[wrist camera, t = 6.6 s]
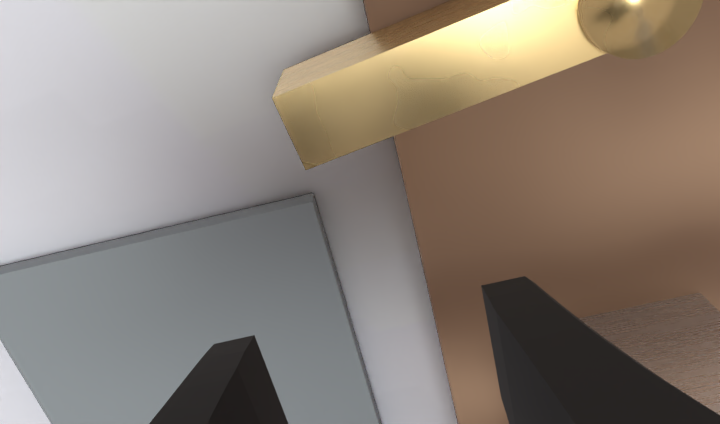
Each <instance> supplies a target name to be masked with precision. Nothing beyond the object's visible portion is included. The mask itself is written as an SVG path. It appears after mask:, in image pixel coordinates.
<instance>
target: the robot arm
mask: <svg viewBox="0 0 720 424" xmlns="http://www.w3.org/2000/svg"><path fill="white" fill-rule="evenodd" d="M481 288H482V294H483V299H484V305H485V310H486V316H487V321H488V327H489V333H490V338H491V344H492V349H493V355H494V360H495V366H496V372H497V377H498V383H499V388H500V394H501V398H502V402H503V405H504V408H505V411H506V415H507V418H508V421H509V424H720V415H719V414H717V413H716V412H714V411H712V410H711V409H709V408H708V407H706V406H705V405H703V404H701V403H700V402H698V401H697V400H695V399H693V398H692V397H690V396H689V395H687V394H686V393H684V392H682V391H681V390H679V389H678V388H676V387H675V386H673V385H671V384H670V383H668V382H667V381H665V380H664V379H662V378H661V377H659V376H658V375H656V374H655V373H653V372H652V371H650V370H649V369H647V368H646V367H645V366H643V365H642V364H640V363H639V362H637V361H636V360H635V359H633V358H632V357H630V356H629V355H628V354H626V353H625V352H623V351H622V350H621V349H619V348H618V347H616V346H615V345H614V344H612V343H611V342H609V341H608V340H607V339H605V338H604V337H602V336H601V335H600V334H598V333H597V332H596V331H594V330H593V329H592V328H590V327H589V326H588V325H587V324H585V323H584V322H583V321H581V320H580V319H579V318H578V317H576V316H575V315H574V314H572V313H571V312H570V311H569V310H567V309H566V308H565V307H564V306H562V305H561V304H560V303H559V302H557V301H556V300H555V299H554V298H552V297H551V296H550V295H549V294H548V293H546V292H545V291H544V290H543V289H542V288H540V287H539V286H538V285H537V284H536V283H534V282H533V281H532V280H530V279H528V278H527V277H525V276H523V277H518V278H514V279H509V280H504V281H500V282H495V283H491V284H486V285H481ZM149 424H288V421H287V419H286V416H285V413H284V411H283V408H282V406H281V403H280V400H279V398H278V395H277V393H276V390H275V387H274V385H273V382H272V380H271V377H270V374H269V372H268V369H267V367H266V364H265V361H264V359H263V356H262V354H261V351H260V348H259V346H258V343H257V341H256V338H255V335H253V336H248V337H243V338H239V339H234V340H230V341H225V342H221V343H216V344H213V346H212V347H211V348H210V349H209V350H208V351H207V352H206V353H205V355H204V356H203V357H202V358H201V359H200V361H199V362H198V363H197V364H196V365H195V367H194V368H193V369H192V370H191V372H190V373H189V374H188V375H187V377H186V378H185V379H184V381H183V382H182V383H181V384H180V386H179V387H178V388H177V389H176V391H175V392H174V393H173V394H172V396H171V397H170V398H169V399H168V401H167V402H166V403H165V405H164V406H163V407H162V408H161V410H160V411H159V412H158V413H157V414H156V416H155V417H154V418H153V419H152V421H151V422H150V423H149Z"/></svg>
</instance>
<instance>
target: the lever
mask: <svg viewBox="0 0 720 424" xmlns="http://www.w3.org/2000/svg"><path fill="white" fill-rule="evenodd" d="M702 3H703V0H450V1H448V2H446V3H443V4H441V5H438V6H436V7H434V8H431V9H429V10H426V11H424V12H421V13H419V14H417V15H414V16H412V17H409V18H407V19H405V20H402V21H400V22H397V23H395V24H393V25H390V26H388V27H385V28H383V29H380V30H378V31H376V32H373V33H371V34H368V35H366V36H364V37H361V38H359V39H356V40H354V41H351V42H349V43H347V44H344V45H342V46H339V47H337V48H335V49H332V50H330V51H327V52H325V53H323V54H320V55H318V56H315V57H313V58H310V59H308V60H306V61H303V62H301V63H298V64H296V65H294V66H291V67H289V68H286V69H284V70H283V72H282V75H281V77H280V80H279V82H278V84H277V87H276V89H275V92H274V94H273V97H272V99H273V101H274V104H275V106H276V108H277V110H278V112H279V114H280V116H281V119H282V121H283V123H284V125H285V127H286V129H287V131H288V134H289V136H290V138H291V140H292V142H293V144H294V146H295V148H296V151H297V153H298V155H299V157H300V159H301V161H302V163H303V166H304V168H305V170H308V169H310V168H313V167H315V166H318V165H321V164H323V163H326V162H328V161H331V160H333V159H336V158H339V157H341V156H344V155H346V154H349V153H351V152H354V151H357V150H359V149H362V148H364V147H367V146H370V145H372V144H375V143H377V142H380V141H382V140H385V139H388V138H390V137H393V136H395V135H398V134H400V133H403V132H406V131H408V130H411V129H413V128H416V127H418V126H421V125H424V124H426V123H429V122H431V121H434V120H436V119H439V118H442V117H444V116H447V115H449V114H452V113H454V112H457V111H460V110H462V109H465V108H467V107H470V106H472V105H475V104H478V103H480V102H483V101H485V100H488V99H490V98H493V97H496V96H498V95H501V94H503V93H506V92H508V91H511V90H514V89H516V88H519V87H521V86H524V85H526V84H529V83H532V82H534V81H537V80H539V79H542V78H544V77H547V76H550V75H552V74H555V73H557V72H560V71H562V70H565V69H568V68H570V67H573V66H575V65H578V64H580V63H583V62H586V61H588V60H591V59H593V58H596V57H598V56H601V55H604V54H606V53H609V54H611V55H613V56H616V57H619V58H624V59H642V58H648V57H651V56H654V55H656V54H659V53H661V52H663V51H665V50H666V49H668V48H670V47H671V46H672V45H674V44H675V43H676V42H677V41H678V40H680V39H681V38H682V37H683V36H684V34H685V33H686V32H687V31H688V30H689V28H690V27H691V26H692V24H693V23H694V21H695V19H696V17H697V16H698V13H699V11H700V9H701V6H702Z"/></svg>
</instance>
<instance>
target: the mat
mask: <svg viewBox="0 0 720 424" xmlns="http://www.w3.org/2000/svg"><path fill="white" fill-rule="evenodd" d="M253 335H255V338H256V341H257V343H258V346H259V348H260V351H261V354H262V356H263V359H264V361H265V364H266V367H267V369H268V372H269V374H270V377H271V380H272V382H273V385H274V387H275V390H276V393H277V395H278V398H279V400H280V403H281V406H282V408H283V411H284V413H285V416H286V419H287V421H288V424H382V423H381V420H380V417H379V413H378V410H377V407H376V403H375V400H374V397H373V393H372V390H371V386H370V383H369V380H368V376H367V373H366V370H365V366H364V363H363V359H362V356H361V353H360V349H359V346H358V343H357V339H356V336H355V332H354V329H353V326H352V322H351V319H350V316H349V312H348V309H347V305H346V302H345V299H344V295H343V292H342V289H341V285H340V282H339V278H338V275H337V272H336V268H335V265H334V262H333V258H332V255H331V251H330V248H329V245H328V241H327V238H326V235H325V231H324V228H323V224H322V221H321V218H320V214H319V211H318V208H317V204H316V201H315V197H314V194H313V193H311V194H307V195H303V196H298V197H294V198H290V199H286V200H281V201H277V202H273V203H269V204H264V205H260V206H256V207H251V208H247V209H243V210H239V211H234V212H230V213H226V214H222V215H217V216H213V217H209V218H204V219H200V220H196V221H192V222H187V223H183V224H179V225H174V226H170V227H166V228H162V229H157V230H153V231H149V232H145V233H140V234H136V235H132V236H127V237H123V238H119V239H115V240H110V241H106V242H102V243H98V244H93V245H89V246H85V247H80V248H76V249H72V250H68V251H63V252H59V253H55V254H51V255H46V256H42V257H38V258H33V259H29V260H25V261H21V262H16V263H12V264H8V265H3V266H0V340H1V342H2V343H3V345H4V347H5V348H6V350H7V352H8V353H9V355H10V357H11V358H12V360H13V361H14V363H15V365H16V366H17V368H18V370H19V371H20V373H21V375H22V376H23V378H24V380H25V381H26V383H27V385H28V386H29V388H30V389H31V391H32V393H33V394H34V396H35V398H36V399H37V401H38V403H39V404H40V406H41V408H42V409H43V411H44V413H45V414H46V416H47V417H48V419H49V421H50V422H51V424H149V423H150V422H151V421H152V419H153V418H154V417H155V416H156V414H157V413H158V412H159V411H160V410H161V408H162V407H163V406H164V405H165V403H166V402H167V401H168V399H169V398H170V397H171V396H172V394H173V393H174V392H175V391H176V389H177V388H178V387H179V386H180V384H181V383H182V382H183V381H184V379H185V378H186V377H187V375H188V374H189V373H190V372H191V370H192V369H193V368H194V367H195V365H196V364H197V363H198V362H199V361H200V359H201V358H202V357H203V356H204V355H205V353H206V352H207V351H208V350H209V349H210V348H211V347H212V346H213V344H216V343H221V342H225V341H230V340H234V339H239V338H243V337H248V336H253Z"/></svg>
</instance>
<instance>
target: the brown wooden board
mask: <svg viewBox="0 0 720 424" xmlns="http://www.w3.org/2000/svg"><path fill="white" fill-rule="evenodd" d="M448 1H450V0H363V3H364V7H365V11H366V16H367V20H368V25H369V29H370V34H371V33H373V32H376V31H378V30H380V29H383V28H385V27H388V26H390V25H393V24H395V23H397V22H400V21H402V20H405V19H407V18H409V17H412V16H414V15H417V14H419V13H421V12H424V11H426V10H429V9H431V8H434V7H436V6H438V5H441V4H443V3H446V2H448ZM394 141H395V145H396V150H397V154H398V159H399V163H400V167H401V172H402V176H403V181H404V185H405V190H406V194H407V199H408V203H409V208H410V212H411V216H412V221H413V225H414V230H415V234H416V239H417V243H418V248H419V252H420V257H421V261H422V265H423V270H424V274H425V279H426V283H427V288H428V292H429V297H430V301H431V306H432V310H433V315H434V319H435V323H436V328H437V332H438V337H439V341H440V346H441V350H442V355H443V359H444V364H445V368H446V372H447V377H448V381H449V386H450V390H451V395H452V399H453V404H454V408H455V413H456V417H457V421H458V424H509V421H508V418H507V415H506V411H505V408H504V405H503V402H502V398H501V394H500V388H499V383H498V377H497V372H496V366H495V360H494V355H493V349H492V344H491V338H490V333H489V327H488V321H487V316H486V310H485V305H484V299H483V294H482V288H481V285H486V284H491V283H495V282H500V281H504V280H509V279H514V278H518V277H523V276H525V277H527V278H528V279H530V280H532V281H533V282H534V283H536V284H537V285H538V286H539V287H540V288H542V289H543V290H544V291H545V292H546V293H548V294H549V295H550V296H551V297H552V298H554V299H555V300H556V301H557V302H559V303H560V304H561V305H562V306H564V307H565V308H566V309H567V310H569V311H570V312H571V313H572V314H574V315H575V316H576V317H578V318H583V317H588V316H592V315H597V314H602V313H607V312H611V311H616V310H621V309H625V308H630V307H635V306H640V305H644V304H649V303H654V302H658V301H663V300H668V299H673V298H677V297H682V296H687V295H691V294H696V293H701V294H702V295H703V296H704V297H705V298H706V299H707V300H708V301H709V302H710V303H711V304H712V305H713V306H714V307H715V308H716V309H717V310H718V311H719V312H720V0H703V3H702V6H701V9H700V11H699V13H698V16H697V17H696V19H695V21H694V23H693V24H692V26H691V27H690V28H689V30H688V31H687V32H686V33H685V34H684V36H683V37H682V38H681V39H680V40H678V41H677V42H676V43H675V44H674V45H672V46H671V47H670V48H668V49H666V50H665V51H663V52H661V53H659V54H656V55H654V56H651V57H648V58H642V59H624V58H619V57H616V56H613V55H611V54H609V53H606V54H604V55H601V56H598V57H596V58H593V59H591V60H588V61H586V62H583V63H580V64H578V65H575V66H573V67H570V68H568V69H565V70H562V71H560V72H557V73H555V74H552V75H550V76H547V77H544V78H542V79H539V80H537V81H534V82H532V83H529V84H526V85H524V86H521V87H519V88H516V89H514V90H511V91H508V92H506V93H503V94H501V95H498V96H496V97H493V98H490V99H488V100H485V101H483V102H480V103H478V104H475V105H472V106H470V107H467V108H465V109H462V110H460V111H457V112H454V113H452V114H449V115H447V116H444V117H442V118H439V119H436V120H434V121H431V122H429V123H426V124H424V125H421V126H418V127H416V128H413V129H411V130H408V131H406V132H403V133H400V134H398V135H395V136H394Z"/></svg>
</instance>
